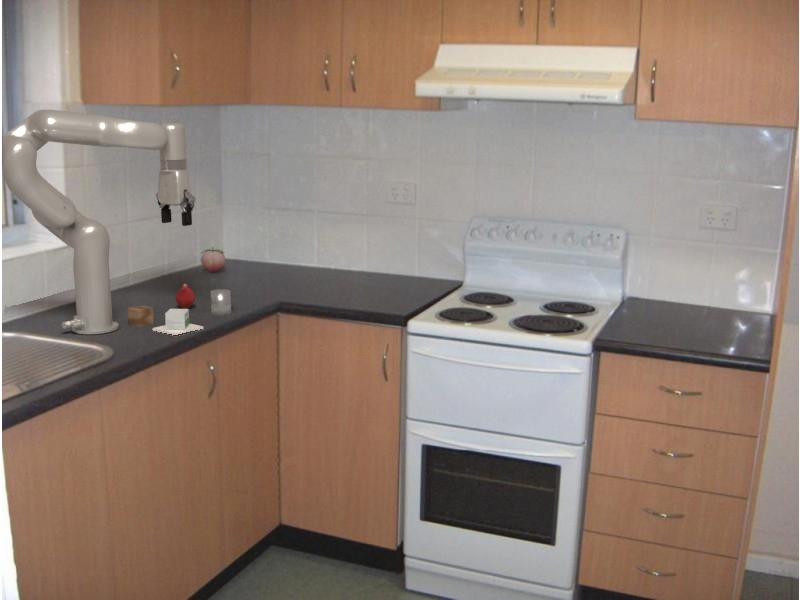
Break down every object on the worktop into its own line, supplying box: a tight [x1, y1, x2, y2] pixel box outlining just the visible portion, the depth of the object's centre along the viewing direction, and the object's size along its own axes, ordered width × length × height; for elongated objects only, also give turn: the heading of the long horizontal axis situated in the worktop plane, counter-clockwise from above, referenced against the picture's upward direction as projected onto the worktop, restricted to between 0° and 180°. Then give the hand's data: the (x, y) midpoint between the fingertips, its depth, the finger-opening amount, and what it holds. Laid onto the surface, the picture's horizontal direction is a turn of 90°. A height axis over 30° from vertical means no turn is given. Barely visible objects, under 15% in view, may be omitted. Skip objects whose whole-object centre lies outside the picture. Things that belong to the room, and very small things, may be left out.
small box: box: [164, 308, 190, 330], centre depth 250 cm, size 6×6×5 cm
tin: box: [210, 288, 232, 316], centre depth 271 cm, size 6×6×7 cm
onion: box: [175, 283, 196, 309], centre depth 276 cm, size 6×6×8 cm
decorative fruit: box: [200, 246, 226, 273], centre depth 337 cm, size 9×8×10 cm
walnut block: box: [127, 305, 155, 328], centre depth 257 cm, size 5×5×5 cm
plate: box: [152, 322, 204, 336], centre depth 251 cm, size 10×10×1 cm
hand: (176, 224), depth 260 cm, fingers open, 9 cm apart
